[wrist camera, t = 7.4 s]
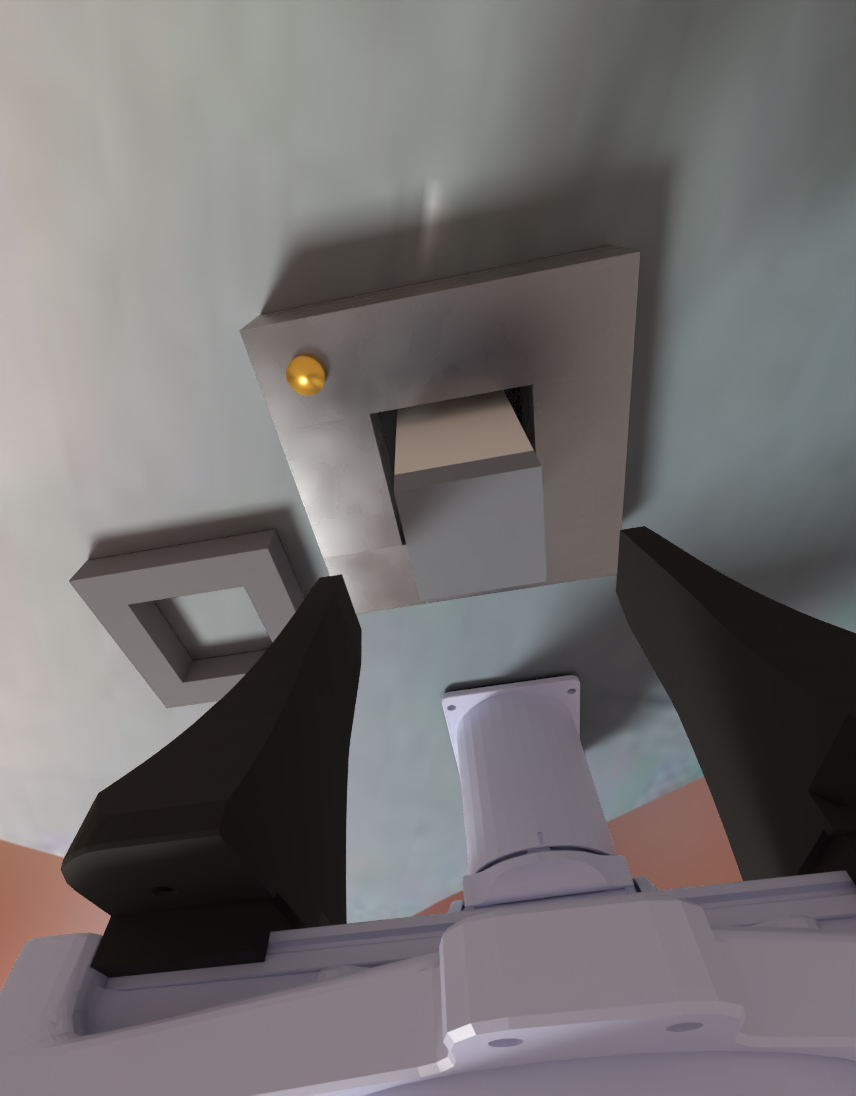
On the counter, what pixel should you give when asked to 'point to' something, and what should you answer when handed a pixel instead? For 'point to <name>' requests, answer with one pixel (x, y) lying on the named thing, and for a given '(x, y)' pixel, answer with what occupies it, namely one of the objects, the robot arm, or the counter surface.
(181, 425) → the counter surface
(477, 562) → the plug
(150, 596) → the gray square frame
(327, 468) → the port block
